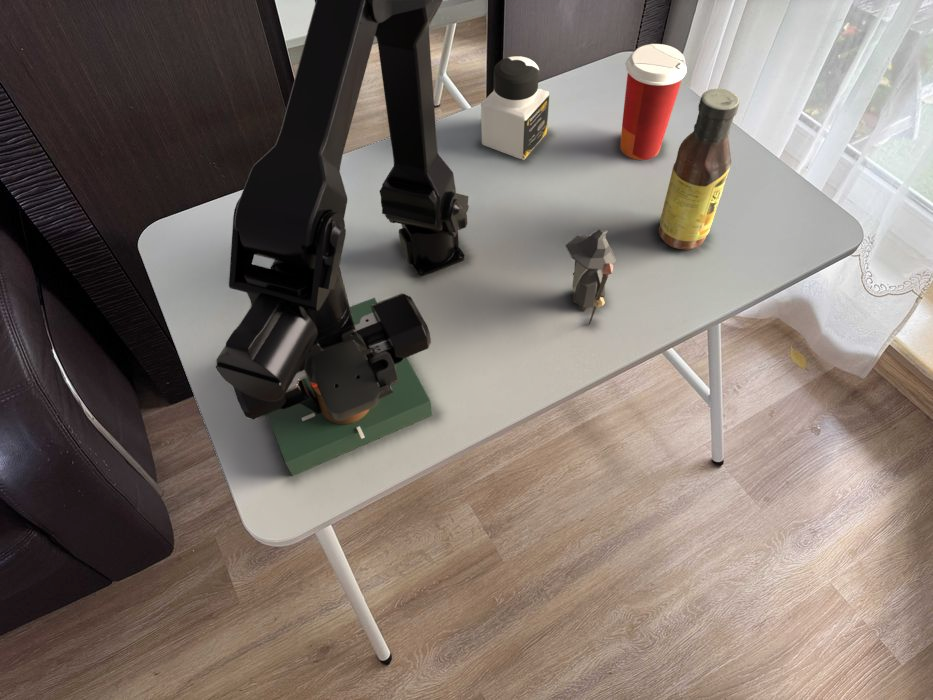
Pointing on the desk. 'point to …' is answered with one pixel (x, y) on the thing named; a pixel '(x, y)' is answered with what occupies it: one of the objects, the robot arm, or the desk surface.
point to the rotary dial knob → (326, 413)
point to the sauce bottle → (699, 173)
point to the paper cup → (650, 98)
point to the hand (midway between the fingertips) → (345, 399)
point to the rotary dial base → (321, 440)
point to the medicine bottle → (515, 108)
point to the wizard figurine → (590, 269)
